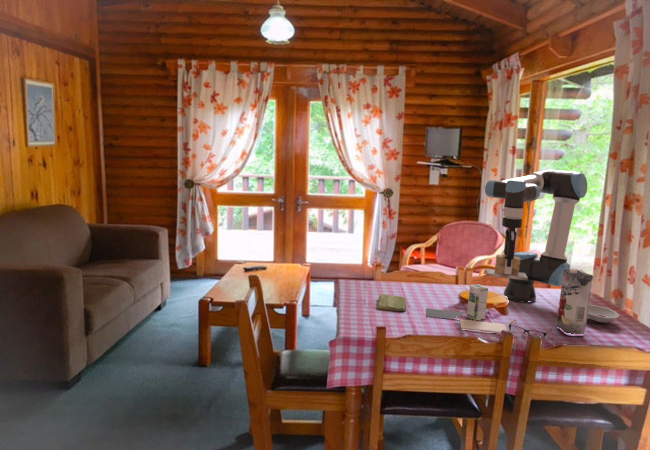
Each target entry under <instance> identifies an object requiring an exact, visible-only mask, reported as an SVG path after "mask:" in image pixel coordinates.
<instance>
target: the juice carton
mask: <svg viewBox="0 0 650 450" xmlns="http://www.w3.org/2000/svg"><path fill="white" fill-rule="evenodd" d="M593 279H594V276H593V275H592V274H589V273H587V272H585V271H583V270H582V269H577V268H574V267H572V268H571V267H570V270H564V271H563V279H562V285H561V286H560V295H559V302H558V311H557V318H556V328H557V327H559V328H561V329H562V330H563V331H564V332H566V333H571V334H574V333H575V334H584V333H586V327H587V320H588V317H587V315H588V308H589V305H590V301H591V300H590V299H591V294H592V286H593ZM584 335H585V334H584Z"/></svg>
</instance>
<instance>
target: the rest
mask: <svg viewBox="0 0 650 450" xmlns="http://www.w3.org/2000/svg"><path fill="white" fill-rule="evenodd" d="M460 324H461V326H460V330H461V329H469V330H480V331H485V332H494V333H500V331H502V330H506V331H508V330H507V329H508V328H507V326H506V324H505V323H497V322H490V321H482V320H478V321H474V320H472V319H465V318H464V319H460V321H459V325H460Z"/></svg>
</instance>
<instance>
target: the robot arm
mask: <svg viewBox="0 0 650 450" xmlns="http://www.w3.org/2000/svg"><path fill="white" fill-rule="evenodd" d="M587 192H588V180H587V177H586V175H585V174H584V173H582V172H579V171H575V170H574V171H571V170H556V169H546V170H539V171H535V172H531V173H529V174H527V175H525V176H519V177H515V178H509V179H508V178H507V179H503V180H496V179H495V180H494V179H493V180H488V181H487V182H486V184H485V186H484V193H485V195H486V196H487V197H489V198H493V199H494V198H496V199H504V204H503V205H504V206H503V208H502V209H501V210H502V212H503V213H502V214H503V217H502V223H501V226H502V227H504V228H506V229H505V234H504V235H505V238H504V239H505V240H504V248H503V252H504V253H503V255H505V256H506V257H504V258H505V259H506V260H505V270H504V274H511V272H512V262H513V259H514V257H519V258H520V259H521V260H520V267H519V272H520V273H525V274H526V276H527V277H528V280H520V279H511V278H508V282H507V284H506V286H505V288H504V291H503V295H505V296H507V297H508V298H509V299H511V300H510V301H513V300H515V301H514V302H517V301H523V302H522V303H526V302H528V301H534V300H537V295H536V294H537V293H536V290H535V285H534V284H535V282H537V283H541V284H545V285H549V286H554V287H561V286H562V279H563V271H564V270H570V269H571V265H570V264H569V262H568V258H567V257H566V254H565V253H566V250H567V244H568V240H569V236H570V231H571V227H572V226H571V225H572V221H573V217H574V216H573V215H574V211H575V207H576V205H577V204H578V203H580V200H581V199H582V198H585V197H586V194H587ZM541 193H543V194H548V195H552V199H553V200H554V206H553V212H552V216H551V221H550V224H549V225H550V226H549V230H548V234H547V238H546V239H547V240H546V245H545V249H544V252H543V251H542V252H541V253H540V256H539V257H538V253H537V252H533V251H532V252H531V251H519V252H518V251H517V252H515V248H516V241H517V232H516V229H520V228H521V227H522V225H523V216H524V208H525V207H524V206H525V203H530V202H531V203H532V202H534V201H536V200H538V199H539V197H540V195H541ZM509 299H508V300H509ZM534 302H535V301H534Z"/></svg>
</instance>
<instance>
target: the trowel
mask: <svg viewBox="0 0 650 450" xmlns="http://www.w3.org/2000/svg"><path fill="white" fill-rule="evenodd" d="M495 256H496V257H495V264H494V269H493V268H485V273H486V276H488V277H497V278H505V279H509V278H511V279H520V280H528V277H527V276H526V274H525V273H520V272H519V267H520V260H521V259H520V258H519V257H514V259H513V262H512V272H511V274H504V270H505V260H506V259H505V258H504V257H506V256H505V255H504V254H502V255H501V254H496V255H495Z"/></svg>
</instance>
